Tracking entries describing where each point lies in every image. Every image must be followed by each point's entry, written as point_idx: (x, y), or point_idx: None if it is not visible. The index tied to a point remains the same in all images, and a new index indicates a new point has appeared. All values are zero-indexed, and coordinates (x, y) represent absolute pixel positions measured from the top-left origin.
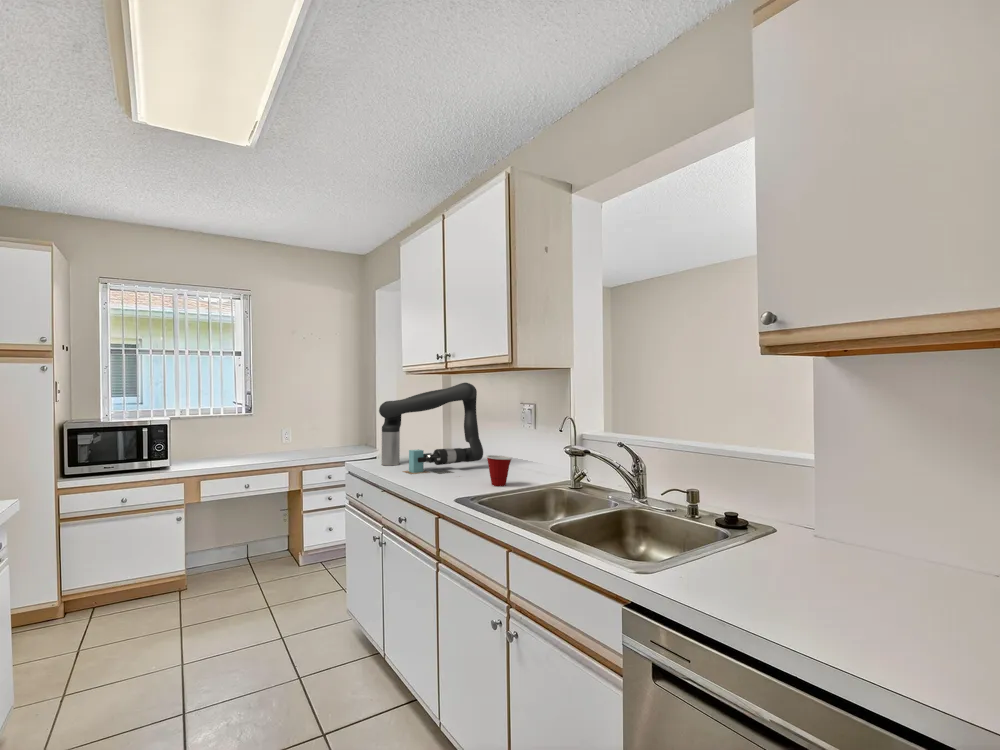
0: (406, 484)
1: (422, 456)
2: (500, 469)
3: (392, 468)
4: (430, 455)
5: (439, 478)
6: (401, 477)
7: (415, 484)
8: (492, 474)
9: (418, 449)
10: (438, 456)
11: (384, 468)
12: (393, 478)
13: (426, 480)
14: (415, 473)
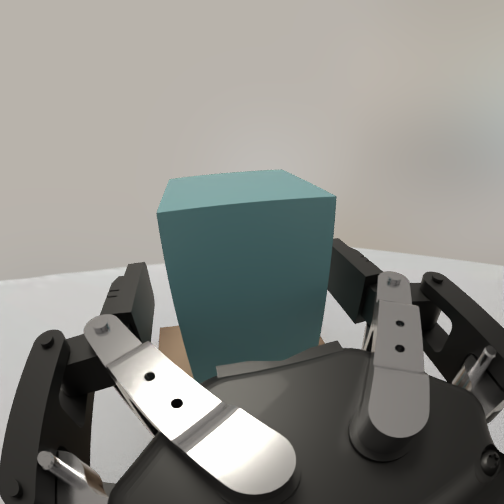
0: (35, 287)
1: (173, 292)
2: None
3: (465, 290)
4: (108, 370)
5: (3, 426)
6: (169, 302)
7: (12, 303)
8: None
9: (326, 194)
10: (9, 468)
11: (455, 271)
12: (167, 278)
13: (19, 355)
14: (172, 355)
